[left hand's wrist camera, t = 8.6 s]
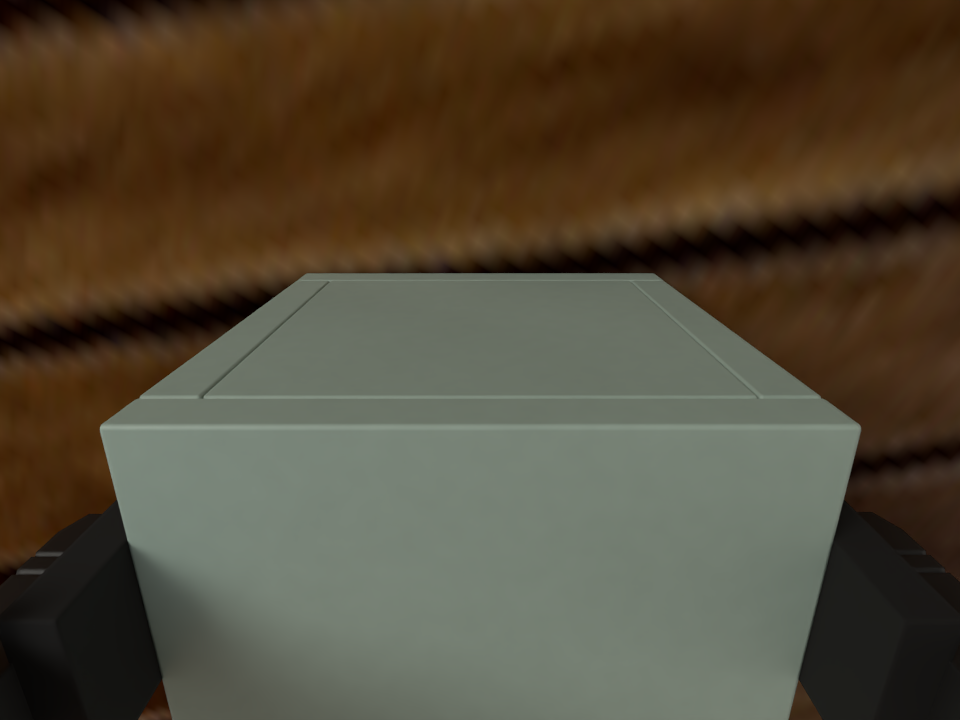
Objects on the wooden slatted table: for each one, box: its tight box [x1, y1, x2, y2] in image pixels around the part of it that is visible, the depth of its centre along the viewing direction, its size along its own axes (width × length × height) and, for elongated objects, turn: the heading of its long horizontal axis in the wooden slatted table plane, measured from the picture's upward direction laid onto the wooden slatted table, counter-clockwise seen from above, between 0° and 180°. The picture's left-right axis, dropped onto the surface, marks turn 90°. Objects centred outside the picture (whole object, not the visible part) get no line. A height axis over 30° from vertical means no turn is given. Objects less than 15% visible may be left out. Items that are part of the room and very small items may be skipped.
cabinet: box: [100, 273, 861, 720], centre depth 15 cm, size 17×10×10 cm, turn 0°
